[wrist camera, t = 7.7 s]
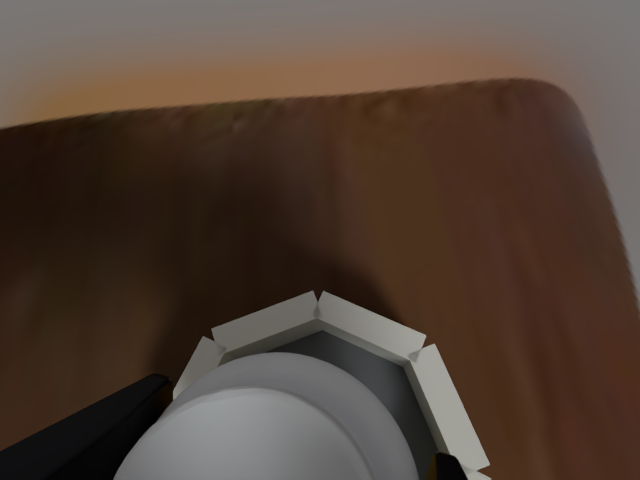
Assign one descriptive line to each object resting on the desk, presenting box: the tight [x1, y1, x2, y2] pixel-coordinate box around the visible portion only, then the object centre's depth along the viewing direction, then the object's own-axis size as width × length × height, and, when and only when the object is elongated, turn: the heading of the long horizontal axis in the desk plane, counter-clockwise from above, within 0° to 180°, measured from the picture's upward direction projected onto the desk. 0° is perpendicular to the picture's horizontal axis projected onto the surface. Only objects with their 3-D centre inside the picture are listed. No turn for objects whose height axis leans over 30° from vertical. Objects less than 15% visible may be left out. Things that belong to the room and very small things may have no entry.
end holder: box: [173, 291, 491, 480], centre depth 15 cm, size 11×11×3 cm
